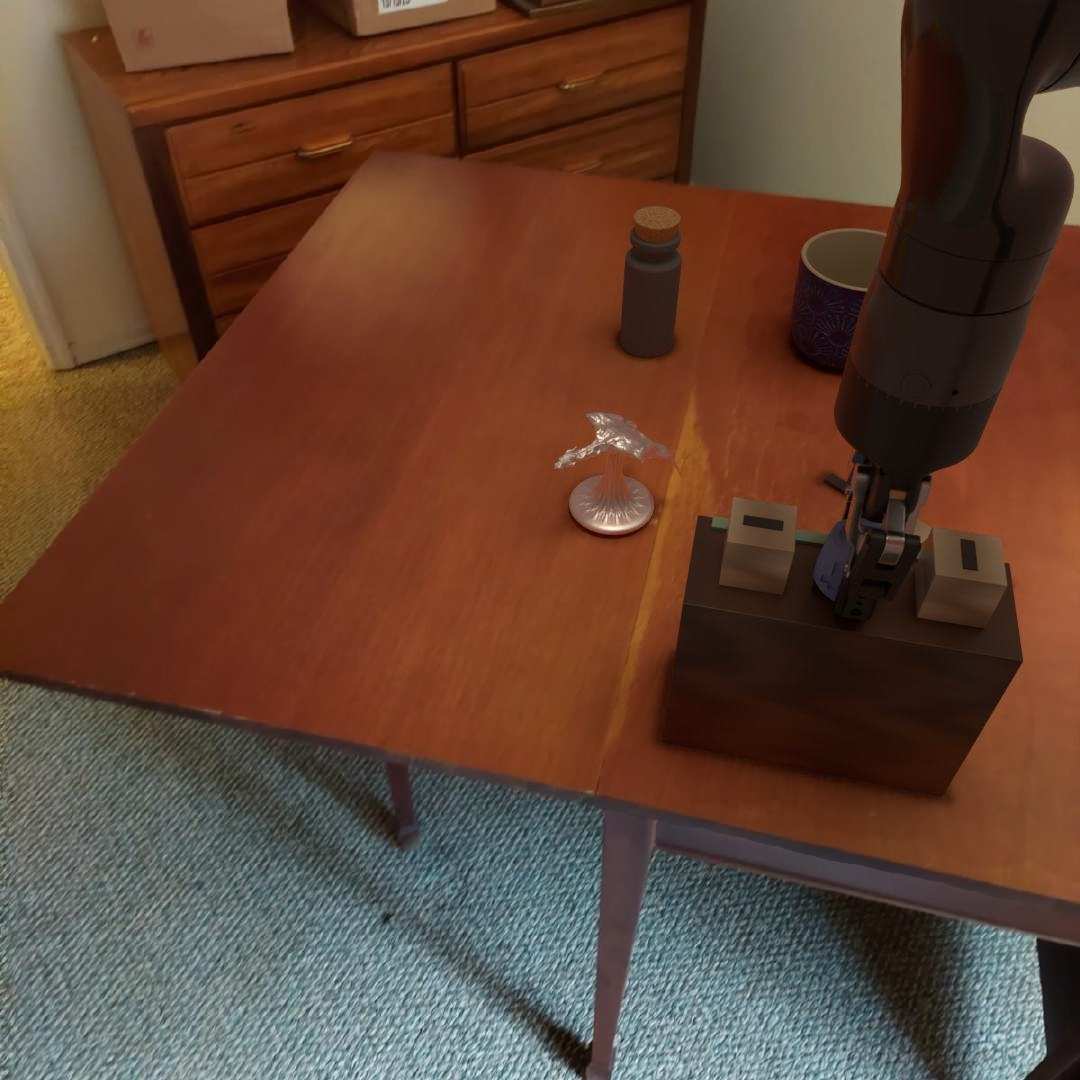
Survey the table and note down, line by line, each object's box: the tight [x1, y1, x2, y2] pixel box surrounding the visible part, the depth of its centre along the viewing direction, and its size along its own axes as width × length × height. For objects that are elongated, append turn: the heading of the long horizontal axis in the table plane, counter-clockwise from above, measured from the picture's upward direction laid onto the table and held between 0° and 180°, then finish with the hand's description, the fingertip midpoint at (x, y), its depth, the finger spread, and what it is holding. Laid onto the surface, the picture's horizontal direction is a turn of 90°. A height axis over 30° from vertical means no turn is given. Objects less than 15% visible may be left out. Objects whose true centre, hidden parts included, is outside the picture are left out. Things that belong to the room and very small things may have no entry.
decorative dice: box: [813, 518, 882, 602], centre depth 59 cm, size 4×4×4 cm
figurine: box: [553, 411, 683, 536], centre depth 84 cm, size 8×12×10 cm, turn 126°
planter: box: [790, 227, 887, 371], centre depth 101 cm, size 12×12×11 cm
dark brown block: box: [661, 496, 1024, 797], centre depth 64 cm, size 20×8×20 cm, turn 77°
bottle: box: [619, 205, 683, 359], centre depth 100 cm, size 6×6×15 cm
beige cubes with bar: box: [823, 473, 933, 548], centre depth 83 cm, size 18×7×4 cm, turn 42°
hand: (851, 579), depth 60 cm, fingers closed on decorative dice, 5 cm apart
